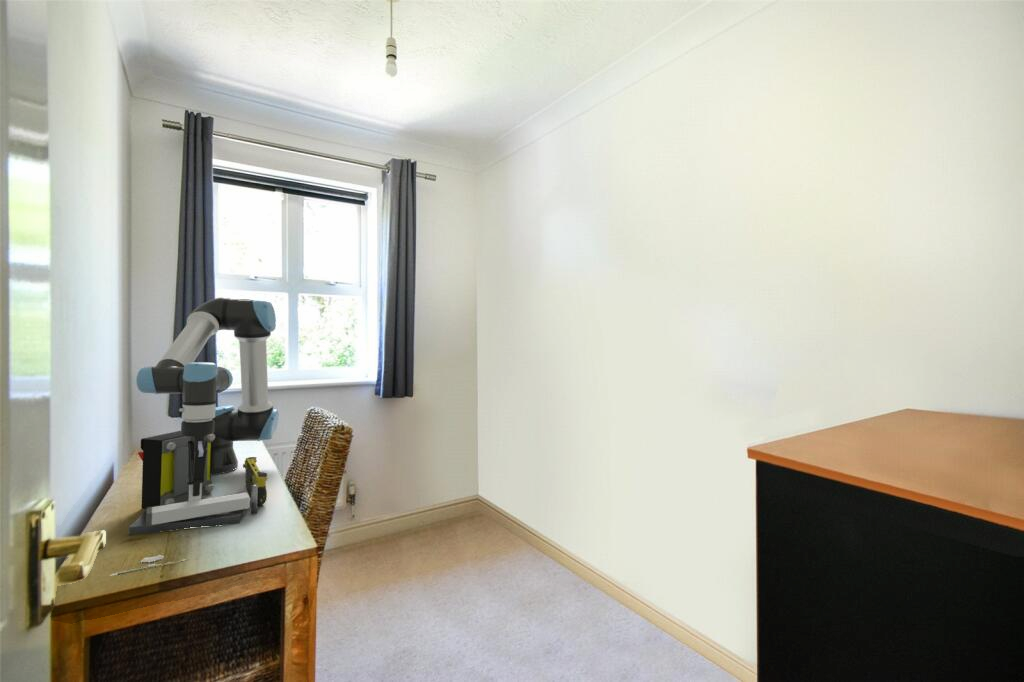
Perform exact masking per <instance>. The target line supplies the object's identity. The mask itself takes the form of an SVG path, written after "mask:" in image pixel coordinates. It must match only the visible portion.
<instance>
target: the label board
mask: <svg viewBox="0 0 1024 682" xmlns="http://www.w3.org/2000/svg"><path fill="white" fill-rule="evenodd" d="M257 495H258V485H257V484H255V485H251V498H250V515H253V516H254V515H257V514H258V507H257ZM246 510H247V509H241V510H235V511H230V512H224V513H218V514H212V515H207V516H201V517H195V518H189V519H184V520H178V521H172V522H166V523H161V524H155V525H152V526H146V517H147V510H146V509H145V511H144V512H143V513H142V514H141V515H140V516H138V518H136V520H135V521H133V522H132V523H131V524H130V526H128V536H134V535H135V534H136V535H144V533H146V534H154V532H155V533H161V532H160V531H165V532H170V531H169V530H175V531H177V530H176V529H184V528H190V527H201V526H213V527H220V526H219V525H223V526H233V525H239V524H241V521H242V519H243V517H244V515H245V512H246ZM216 525H217V526H216ZM184 530H185V529H184ZM136 535H135V536H136Z"/></svg>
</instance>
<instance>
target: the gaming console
mask: <svg viewBox="0 0 1024 682" xmlns="http://www.w3.org/2000/svg"><path fill="white" fill-rule="evenodd" d="M257 462H258V461H257V456H249V457H246V458H245V460H244V463H243V464H242V468H243V469H244V471H245V472H244V473H245V474H244V475H245V477H244V478H245V479H244V480H245V481H244V483H245V489H246V491H247V493H248V495H249V497H250V499H251V485H255V484H257V485H258V495H257V508H258V507H259V508H260V507H261V506H263V505H264V504H266V502H267V498H268V496H267V493H268V491H267V481H268V478H269V477H268V472H265V471H261V470H260V468H259V467H258V465H257V464H256V463H257Z"/></svg>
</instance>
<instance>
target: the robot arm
mask: <svg viewBox="0 0 1024 682" xmlns="http://www.w3.org/2000/svg"><path fill="white" fill-rule="evenodd" d="M275 312H276V311H275V308H274V306H273V304H272V302H271V301H269V300H268V299H265V298H264V299H263V298H257V297H256V298H255V297H228V296H223V297H216V298H213V299H210V300H208V301H205V302H204V303H202V304H200V305H199V306H197V307H196V308H195V309H193V310H192V311H191V313H190V314H189V315H188V316H187V319H186V324H185V326H184V327H183V329H182V331H180V333H179V334H178V336H177V337H176V338H175V340H174V341H173V342H172V344H171V345H170V347H169V348H168V349H167V350H166V352H165V353H164V355H163V356H162V357H161V359H160V360H159V361H158V363H156V365H155V366H152V365H151V366H144V367H142V368H140V369H139V371H138V372H137V375H136V381H135V383H136V386H137V389H138V391H139V392H141V393H142V394H155V395H158V394H159V395H162V394H164V395H165V394H168V395H170V394H182V403H181V404H182V407H180V408H179V413H181V420H182V422H181V424H180V425H181V426H180V431H181V434H182V435H183V436H191V441H188V456H189V462H188V478H189V482H187V484H188V485H189V500H188V501H194V500H201V499H202V496H203V495H202V482H204V471H205V461H206V454H207V449H206V448H207V441H205V438H204V437H205V436H206V435H210V434H214V435H215V439H214V440H213V441H212V460H211V474H212V475H218V474H219V473H220V474H224V473H223V472H225V473H229V472H232V471H231V470H233V469H235V468H237V467H238V468H239V461H238V458H237V455H236V452H235V449H234V442H257V441H258V442H260V441H269V440H271V439H272V438H273V437H274V436H275V434H276V430H277V426H278V423H279V422H278V421H279V410H278V409H276V408H274V406H273V405H274V404H273V402H271V401H270V400H269V386H268V385H269V384H268V381H269V380H268V357H267V354H268V353H267V351H268V350H267V340H268V339H269V338H270V336H271V332H274V331H275V329H276V327H277V326H276V325H277V324H276V323H277V322H276V321H277V317H276V313H275ZM224 330H225V331H233V334H234V335H233V336H234V337H235V339H237V340H238V341H239V343H238V344H239V361H240V362H239V363H240V379H241V380H240V382H241V403H240V404H239V405H238V406H237V409H235V405H222V406H217V403H216V400H217V399H216V398H217V394H220V393H221V394H222V393H223V392H225V391H226V390H228V389H229V388H231V385H232V384H233V382H234V381H233V379H234V378H233V374H232V373H231V371H230V370H229V369H227V368H226V367H222V366H217V364H216V363H215V362H207V361H206V362H205V361H204V362H203V361H201V362H200V361H199V362H198V361H197V362H196V359H197V357H198V356H199V354H200V353H201V352H202V350H203V348H204V347H205V345H206V344H207V342H208V340H209V339H210V337H213V336H214V335H215V334H217V332H218V331H224ZM238 468H237V469H238ZM235 470H236V469H235ZM228 471H229V472H228ZM233 471H234V470H233Z"/></svg>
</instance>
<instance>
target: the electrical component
mask: <svg viewBox="0 0 1024 682" xmlns="http://www.w3.org/2000/svg"><path fill="white" fill-rule="evenodd" d="M204 438H205V441H207V448H206V449H207V454H206V461H205V471H204V482H202V495H201V496H204V495H207V494H209V493H211V492H213V490H214V485H213V481H212V475H211V460H212V441H213V440H214V439H215V435H214V434H210V435H206V436H205V437H204ZM188 441H191V436H183V435H182V434H181V430H177V431H172V432H168V433H163V434H158V435H153V436H148V437H143V438H141V439H140V449H141V451H138V452H137V455H138V457H139V458H140V459H141V461H142V477H141V479H142V480H141V510H146V509H147V507H156V506H162V505H168V504H175V503H181V502H188V501H189V485H188V484H187V482H189V478H188V462H189V456H188Z"/></svg>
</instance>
